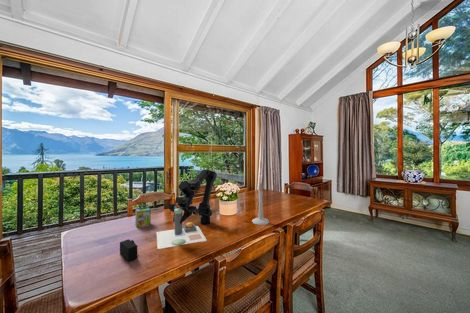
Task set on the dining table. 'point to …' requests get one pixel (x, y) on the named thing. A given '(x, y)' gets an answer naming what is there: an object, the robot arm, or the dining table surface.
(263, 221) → the candlestick
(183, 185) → the robot arm
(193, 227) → the button housing
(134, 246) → the digital camera
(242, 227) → the dining table surface
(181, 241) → the colouring board
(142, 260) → the dining table surface
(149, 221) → the chalk box
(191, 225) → the button
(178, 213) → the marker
